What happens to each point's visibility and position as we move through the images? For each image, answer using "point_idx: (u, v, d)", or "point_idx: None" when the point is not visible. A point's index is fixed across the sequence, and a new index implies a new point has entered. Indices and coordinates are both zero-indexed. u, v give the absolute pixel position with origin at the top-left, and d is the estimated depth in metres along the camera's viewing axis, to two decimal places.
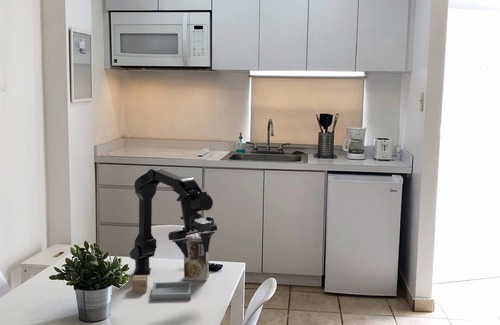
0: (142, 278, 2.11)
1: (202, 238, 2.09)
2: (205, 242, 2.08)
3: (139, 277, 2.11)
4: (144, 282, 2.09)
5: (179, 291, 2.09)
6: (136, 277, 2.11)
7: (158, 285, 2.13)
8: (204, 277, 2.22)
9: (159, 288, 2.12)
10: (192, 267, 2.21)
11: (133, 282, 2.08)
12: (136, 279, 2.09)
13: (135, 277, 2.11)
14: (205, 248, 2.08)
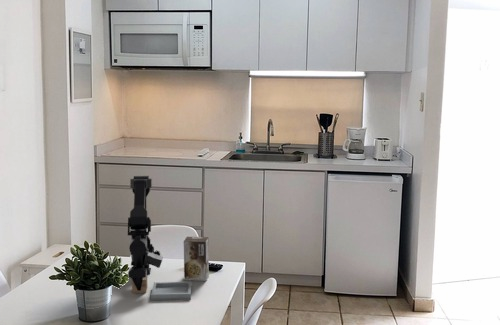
0: None
1: None
2: None
3: None
4: (144, 282, 2.09)
5: (179, 291, 2.09)
6: None
7: (158, 285, 2.13)
8: (204, 277, 2.22)
9: (159, 288, 2.12)
10: (192, 267, 2.21)
11: (133, 282, 2.08)
12: None
13: None
14: None
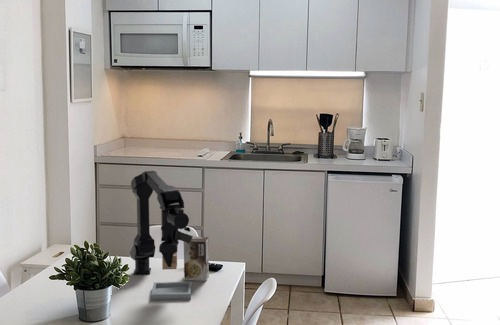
0: None
1: None
2: None
3: None
4: (174, 258, 2.04)
5: (179, 291, 2.09)
6: None
7: (158, 285, 2.13)
8: (204, 277, 2.22)
9: (159, 288, 2.12)
10: (192, 267, 2.21)
11: (163, 258, 2.04)
12: None
13: None
14: None
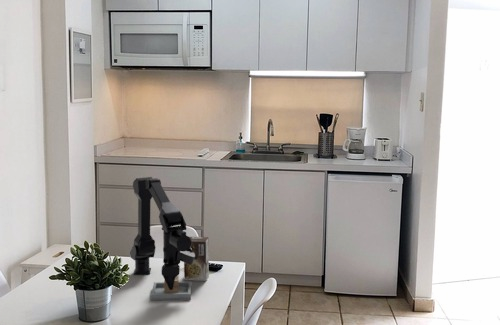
0: None
1: None
2: None
3: None
4: (176, 283, 2.06)
5: (179, 291, 2.09)
6: None
7: (158, 285, 2.13)
8: (204, 277, 2.22)
9: (159, 288, 2.12)
10: (192, 267, 2.21)
11: (165, 283, 2.05)
12: None
13: None
14: None
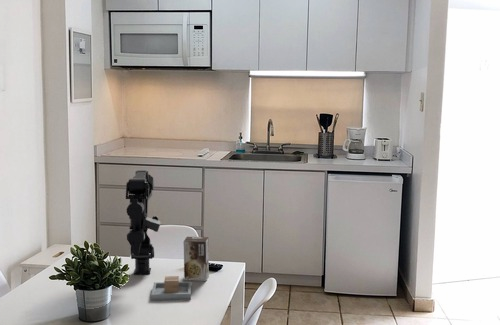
0: (174, 278, 2.08)
1: None
2: None
3: (171, 278, 2.08)
4: (176, 283, 2.06)
5: (179, 291, 2.09)
6: (168, 278, 2.08)
7: (158, 285, 2.13)
8: (204, 277, 2.22)
9: (159, 288, 2.12)
10: (192, 267, 2.21)
11: (165, 283, 2.05)
12: (168, 280, 2.06)
13: (167, 278, 2.08)
14: None
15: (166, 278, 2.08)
